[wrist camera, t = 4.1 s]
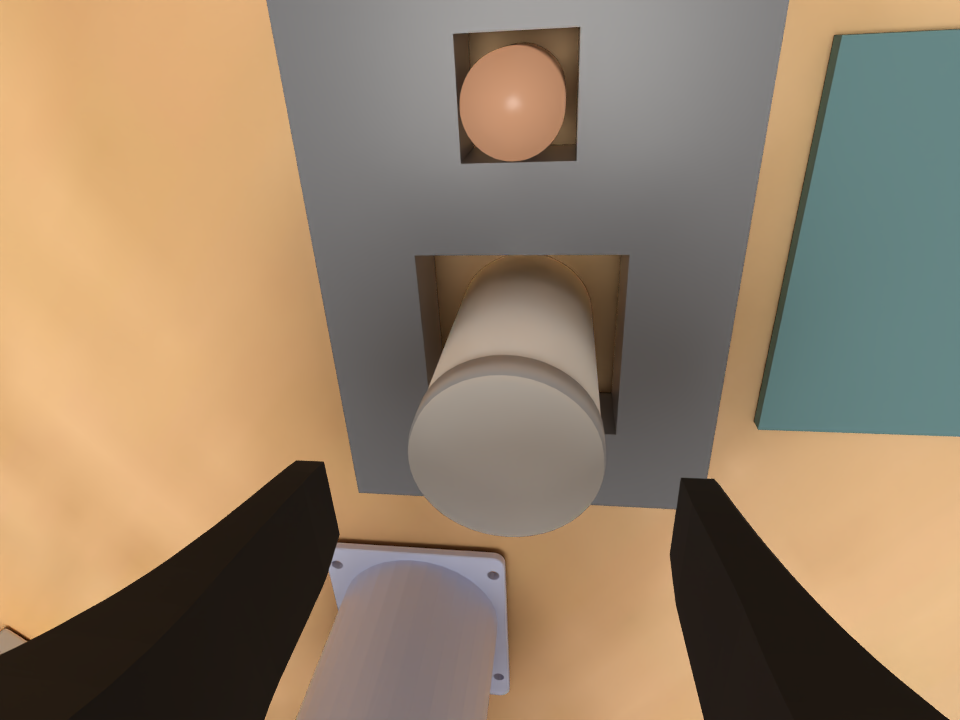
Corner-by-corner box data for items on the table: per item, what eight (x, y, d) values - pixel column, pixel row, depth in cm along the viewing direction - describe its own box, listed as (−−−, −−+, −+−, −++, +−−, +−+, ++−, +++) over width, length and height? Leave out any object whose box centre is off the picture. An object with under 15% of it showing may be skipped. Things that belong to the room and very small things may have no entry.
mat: (1005, 429, 20) (1015, 438, 20) (754, 421, 21) (758, 429, 21) (1193, 17, 14) (1212, 17, 14) (834, 35, 15) (841, 35, 15)
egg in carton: (565, 136, 17) (564, 160, 14) (481, 138, 17) (462, 162, 14) (567, 40, 16) (567, 43, 13) (477, 44, 16) (456, 49, 13)
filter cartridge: (590, 374, 21) (601, 543, 14) (464, 371, 22) (416, 532, 15) (596, 251, 19) (613, 380, 12) (456, 251, 20) (395, 375, 13)
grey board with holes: (688, 463, 22) (701, 510, 20) (377, 450, 24) (358, 492, 22) (766, -54, 15) (800, -68, 13) (301, -22, 16) (261, -29, 14)
